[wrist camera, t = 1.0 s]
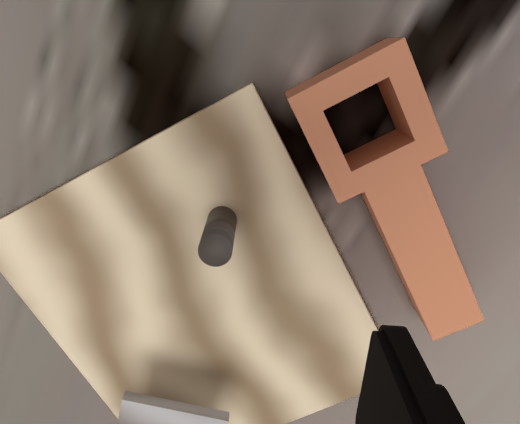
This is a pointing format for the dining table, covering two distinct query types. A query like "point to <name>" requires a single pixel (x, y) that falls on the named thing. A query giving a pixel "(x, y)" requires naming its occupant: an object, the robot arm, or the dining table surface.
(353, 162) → the link
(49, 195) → the board
